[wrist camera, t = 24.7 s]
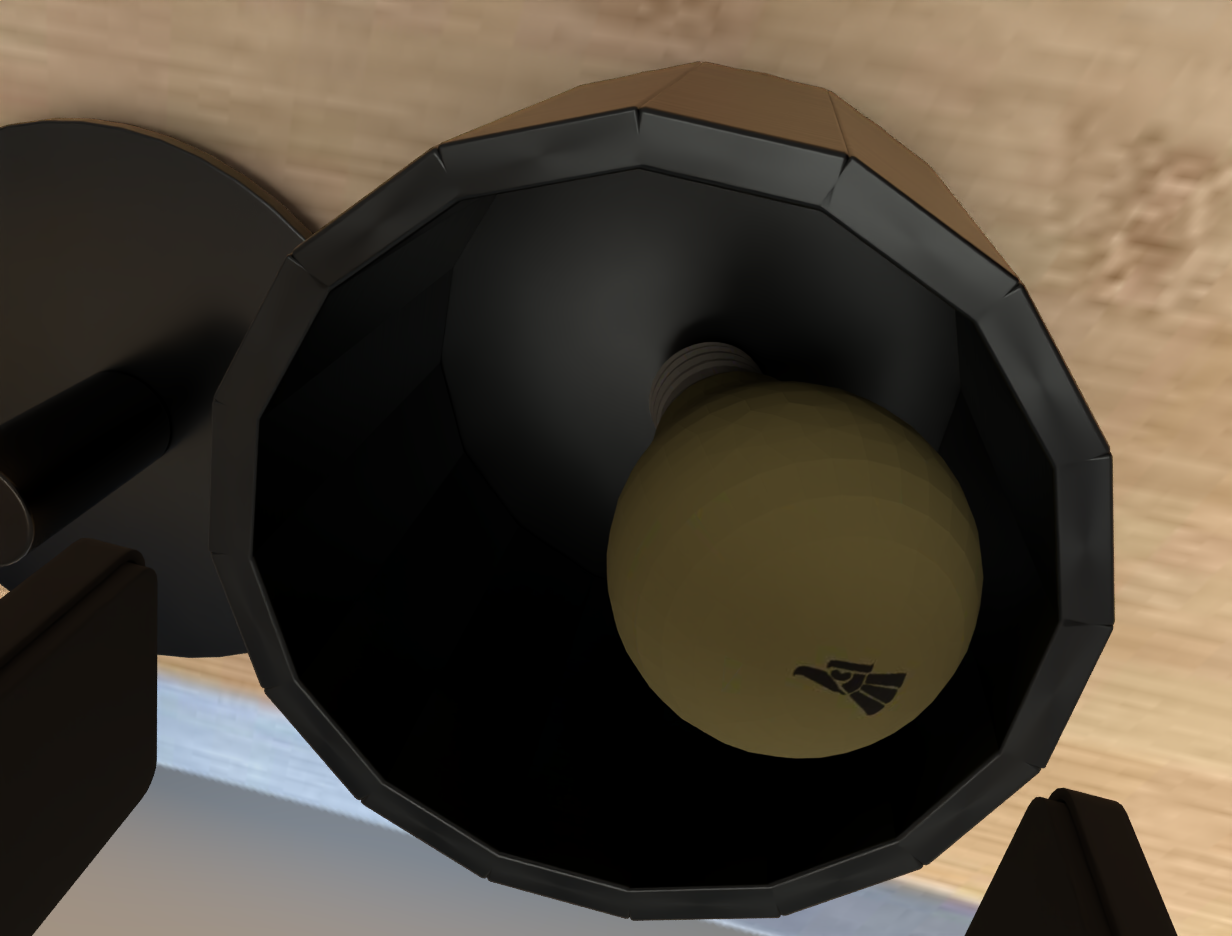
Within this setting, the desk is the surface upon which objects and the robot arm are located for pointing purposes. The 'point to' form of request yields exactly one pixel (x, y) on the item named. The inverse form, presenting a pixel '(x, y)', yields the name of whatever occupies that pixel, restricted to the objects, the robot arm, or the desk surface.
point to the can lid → (124, 350)
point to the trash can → (598, 470)
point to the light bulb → (789, 560)
